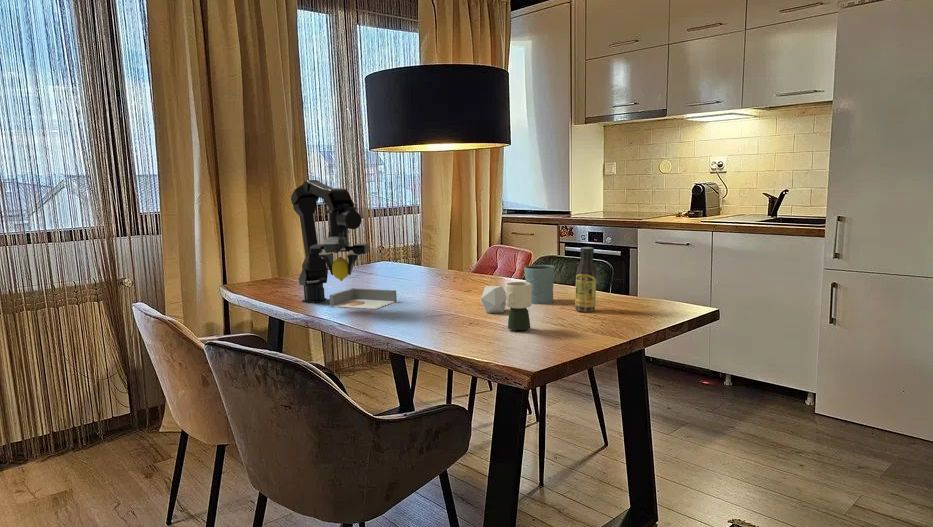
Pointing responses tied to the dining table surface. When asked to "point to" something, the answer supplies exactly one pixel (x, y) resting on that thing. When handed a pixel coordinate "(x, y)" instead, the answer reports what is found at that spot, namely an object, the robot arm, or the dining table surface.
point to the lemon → (340, 268)
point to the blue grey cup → (540, 283)
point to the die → (494, 299)
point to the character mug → (518, 304)
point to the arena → (363, 298)
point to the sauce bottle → (585, 282)
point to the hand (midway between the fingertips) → (341, 274)
